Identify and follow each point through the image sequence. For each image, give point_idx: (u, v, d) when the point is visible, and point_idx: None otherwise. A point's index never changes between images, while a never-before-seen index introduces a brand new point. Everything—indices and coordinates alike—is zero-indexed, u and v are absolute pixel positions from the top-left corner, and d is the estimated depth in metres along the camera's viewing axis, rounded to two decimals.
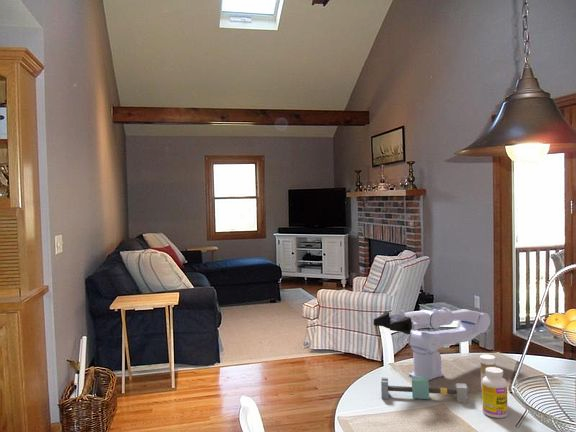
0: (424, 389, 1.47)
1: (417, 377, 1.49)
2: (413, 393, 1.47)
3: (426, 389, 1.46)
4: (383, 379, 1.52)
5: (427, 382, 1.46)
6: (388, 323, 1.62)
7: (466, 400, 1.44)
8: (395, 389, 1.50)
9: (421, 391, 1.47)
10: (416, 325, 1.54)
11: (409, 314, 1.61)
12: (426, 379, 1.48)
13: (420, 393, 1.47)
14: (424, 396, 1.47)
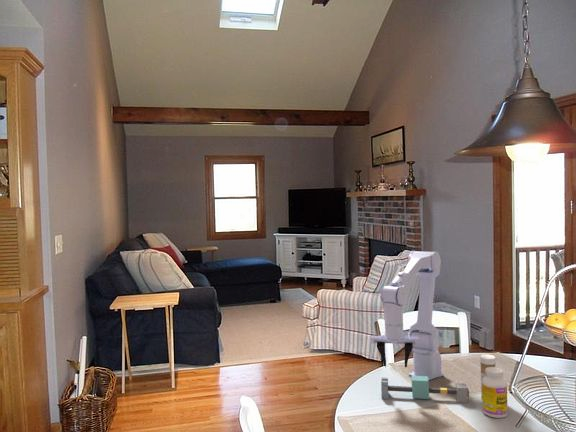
0: (424, 389, 1.47)
1: (417, 377, 1.49)
2: (413, 393, 1.47)
3: (426, 389, 1.46)
4: (383, 379, 1.52)
5: (427, 382, 1.46)
6: (384, 344, 1.52)
7: (466, 400, 1.44)
8: (395, 389, 1.50)
9: (421, 391, 1.47)
10: (418, 341, 1.48)
11: (397, 332, 1.47)
12: (426, 379, 1.48)
13: (420, 393, 1.47)
14: (424, 396, 1.47)
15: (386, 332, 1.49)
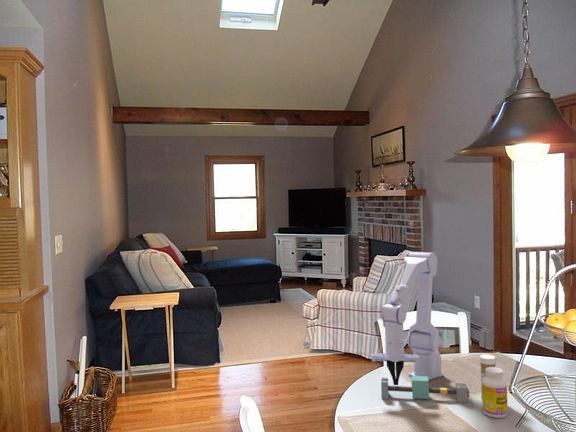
0: (424, 389, 1.47)
1: (417, 377, 1.49)
2: (413, 393, 1.47)
3: (426, 389, 1.46)
4: (383, 379, 1.52)
5: (427, 382, 1.46)
6: None
7: (466, 400, 1.44)
8: (395, 389, 1.50)
9: (421, 391, 1.47)
10: (418, 359, 1.48)
11: (397, 351, 1.47)
12: (426, 379, 1.48)
13: (420, 393, 1.47)
14: (424, 396, 1.47)
15: (387, 350, 1.49)
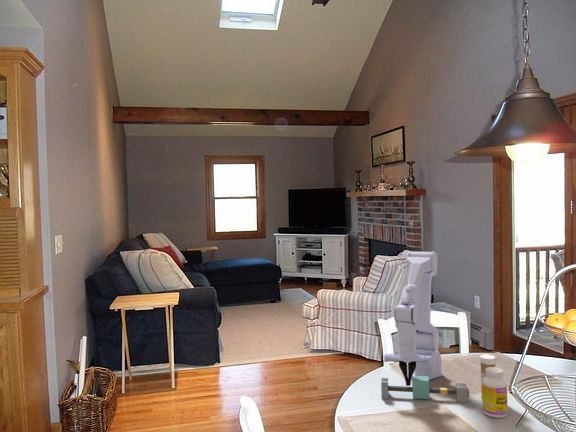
0: (424, 389, 1.46)
1: (417, 377, 1.49)
2: (413, 393, 1.47)
3: (427, 389, 1.46)
4: (383, 379, 1.52)
5: (427, 382, 1.46)
6: None
7: (466, 400, 1.44)
8: (395, 389, 1.50)
9: (421, 391, 1.47)
10: (431, 360, 1.47)
11: (410, 351, 1.46)
12: (426, 379, 1.47)
13: (420, 393, 1.47)
14: (424, 396, 1.47)
15: (399, 351, 1.48)
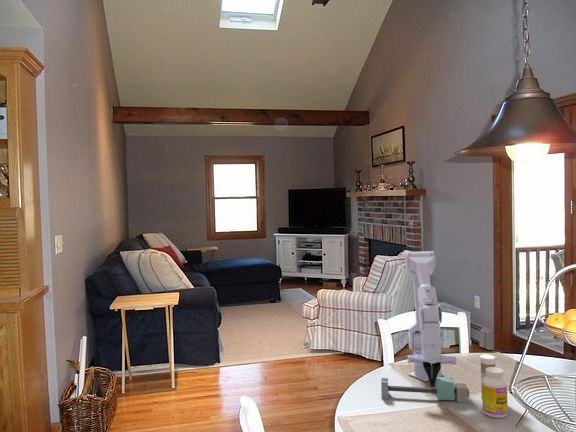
0: (449, 390, 1.45)
1: (442, 378, 1.48)
2: (438, 394, 1.46)
3: (452, 390, 1.45)
4: (383, 379, 1.52)
5: (452, 383, 1.44)
6: (431, 364, 1.49)
7: (466, 400, 1.44)
8: (395, 389, 1.50)
9: (446, 392, 1.45)
10: None
11: (435, 352, 1.45)
12: (451, 380, 1.46)
13: (445, 395, 1.45)
14: (449, 397, 1.45)
15: (423, 352, 1.47)
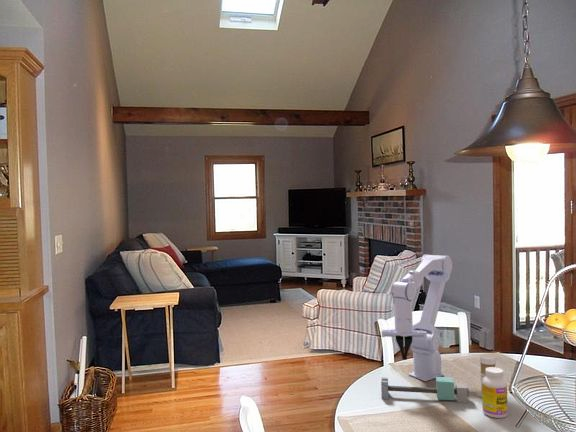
0: (449, 390, 1.45)
1: (442, 378, 1.48)
2: (438, 394, 1.46)
3: (452, 390, 1.45)
4: (383, 379, 1.52)
5: (452, 383, 1.44)
6: None
7: (466, 400, 1.44)
8: (395, 389, 1.50)
9: (446, 392, 1.45)
10: (426, 334, 1.55)
11: (407, 326, 1.54)
12: (451, 380, 1.46)
13: (445, 395, 1.45)
14: (449, 397, 1.45)
15: (396, 326, 1.55)
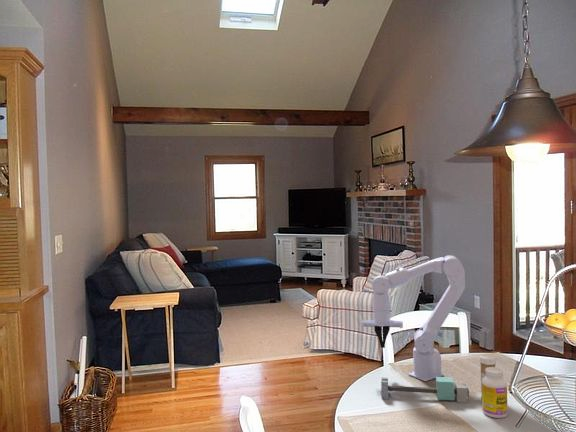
0: (449, 390, 1.45)
1: (442, 378, 1.48)
2: (438, 394, 1.46)
3: (452, 390, 1.45)
4: (383, 379, 1.52)
5: (452, 383, 1.44)
6: (381, 328, 1.70)
7: (466, 400, 1.44)
8: (395, 389, 1.50)
9: (446, 392, 1.45)
10: (402, 324, 1.67)
11: (384, 317, 1.66)
12: (451, 380, 1.46)
13: (445, 395, 1.45)
14: (449, 397, 1.45)
15: (374, 317, 1.68)
